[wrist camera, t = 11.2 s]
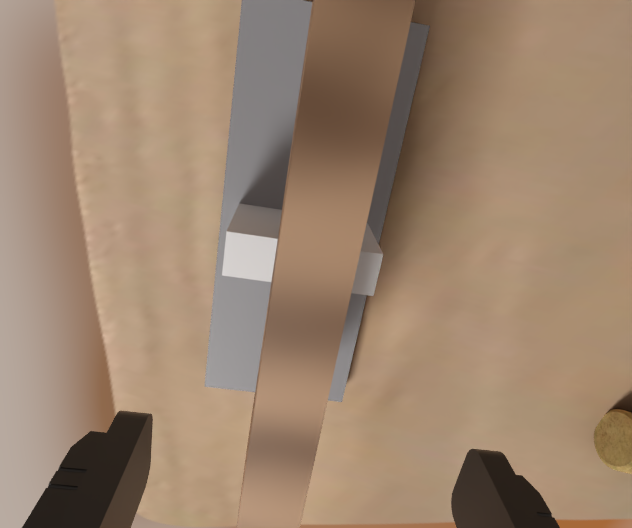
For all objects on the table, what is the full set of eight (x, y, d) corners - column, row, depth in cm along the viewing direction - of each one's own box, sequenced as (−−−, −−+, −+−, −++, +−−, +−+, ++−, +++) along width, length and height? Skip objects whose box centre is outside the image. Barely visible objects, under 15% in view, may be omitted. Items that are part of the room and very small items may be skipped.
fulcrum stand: (246, -7, 25) (228, -38, 18) (422, 28, 26) (465, 11, 19) (208, 374, 34) (187, 443, 27) (340, 389, 35) (350, 459, 28)
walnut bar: (313, -4, 19) (320, -39, 13) (383, 10, 19) (419, -17, 14) (247, 444, 28) (235, 535, 22) (296, 448, 28) (296, 540, 22)
